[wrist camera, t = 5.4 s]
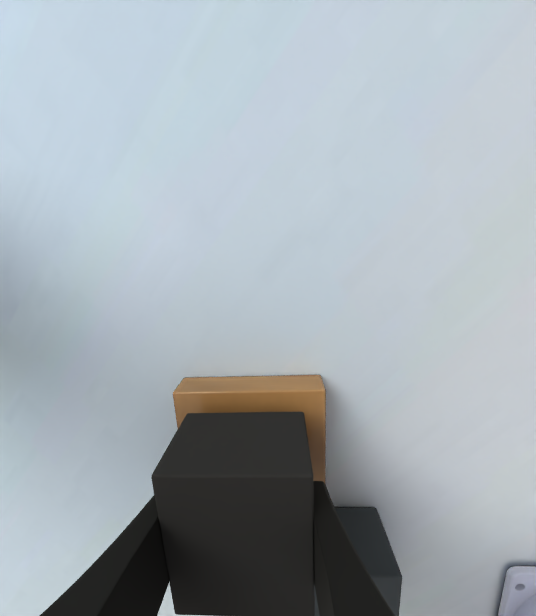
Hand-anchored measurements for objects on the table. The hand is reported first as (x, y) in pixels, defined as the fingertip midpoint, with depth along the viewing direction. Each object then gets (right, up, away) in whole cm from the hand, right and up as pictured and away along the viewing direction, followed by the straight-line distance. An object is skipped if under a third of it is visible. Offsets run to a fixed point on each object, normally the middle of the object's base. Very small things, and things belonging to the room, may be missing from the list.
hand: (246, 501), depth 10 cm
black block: (0, 0, +1) cm, 1 cm away
